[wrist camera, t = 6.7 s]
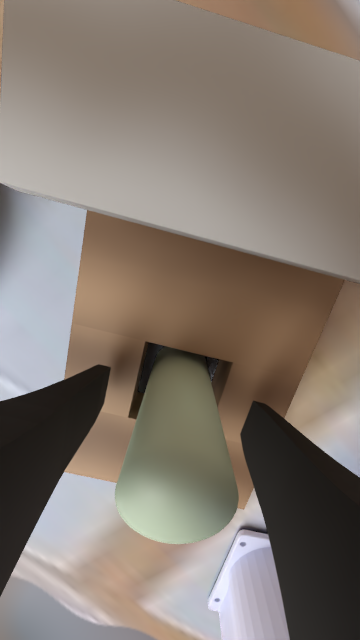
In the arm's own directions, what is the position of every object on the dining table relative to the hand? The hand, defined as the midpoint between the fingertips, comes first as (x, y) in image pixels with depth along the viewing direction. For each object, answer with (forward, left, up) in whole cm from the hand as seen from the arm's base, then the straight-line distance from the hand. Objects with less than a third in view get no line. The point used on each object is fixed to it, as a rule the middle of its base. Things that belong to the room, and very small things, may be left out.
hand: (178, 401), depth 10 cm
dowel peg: (0, 0, -3) cm, 3 cm away
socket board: (+2, 0, -3) cm, 4 cm away
